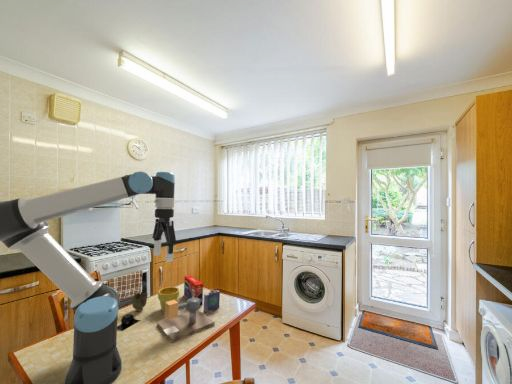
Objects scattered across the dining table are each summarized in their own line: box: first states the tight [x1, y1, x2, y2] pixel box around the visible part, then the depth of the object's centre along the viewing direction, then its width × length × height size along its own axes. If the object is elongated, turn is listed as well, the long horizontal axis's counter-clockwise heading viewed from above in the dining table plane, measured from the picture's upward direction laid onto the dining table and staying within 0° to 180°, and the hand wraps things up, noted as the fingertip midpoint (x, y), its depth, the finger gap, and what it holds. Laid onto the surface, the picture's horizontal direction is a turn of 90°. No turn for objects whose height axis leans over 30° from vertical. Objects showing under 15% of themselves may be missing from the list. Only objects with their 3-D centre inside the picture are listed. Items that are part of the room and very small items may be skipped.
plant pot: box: [157, 286, 180, 313], centre depth 121 cm, size 10×10×10 cm
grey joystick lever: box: [164, 298, 201, 320], centre depth 103 cm, size 15×6×6 cm, turn 132°
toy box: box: [183, 274, 204, 306], centre depth 133 cm, size 18×4×12 cm, turn 37°
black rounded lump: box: [117, 312, 141, 332], centre depth 106 cm, size 12×7×5 cm, turn 158°
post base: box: [156, 309, 216, 343], centre depth 106 cm, size 20×17×8 cm
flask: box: [203, 288, 221, 314], centre depth 122 cm, size 9×3×11 cm, turn 132°
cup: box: [131, 292, 149, 313], centre depth 119 cm, size 8×7×8 cm
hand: (163, 258), depth 98 cm, fingers open, 13 cm apart
